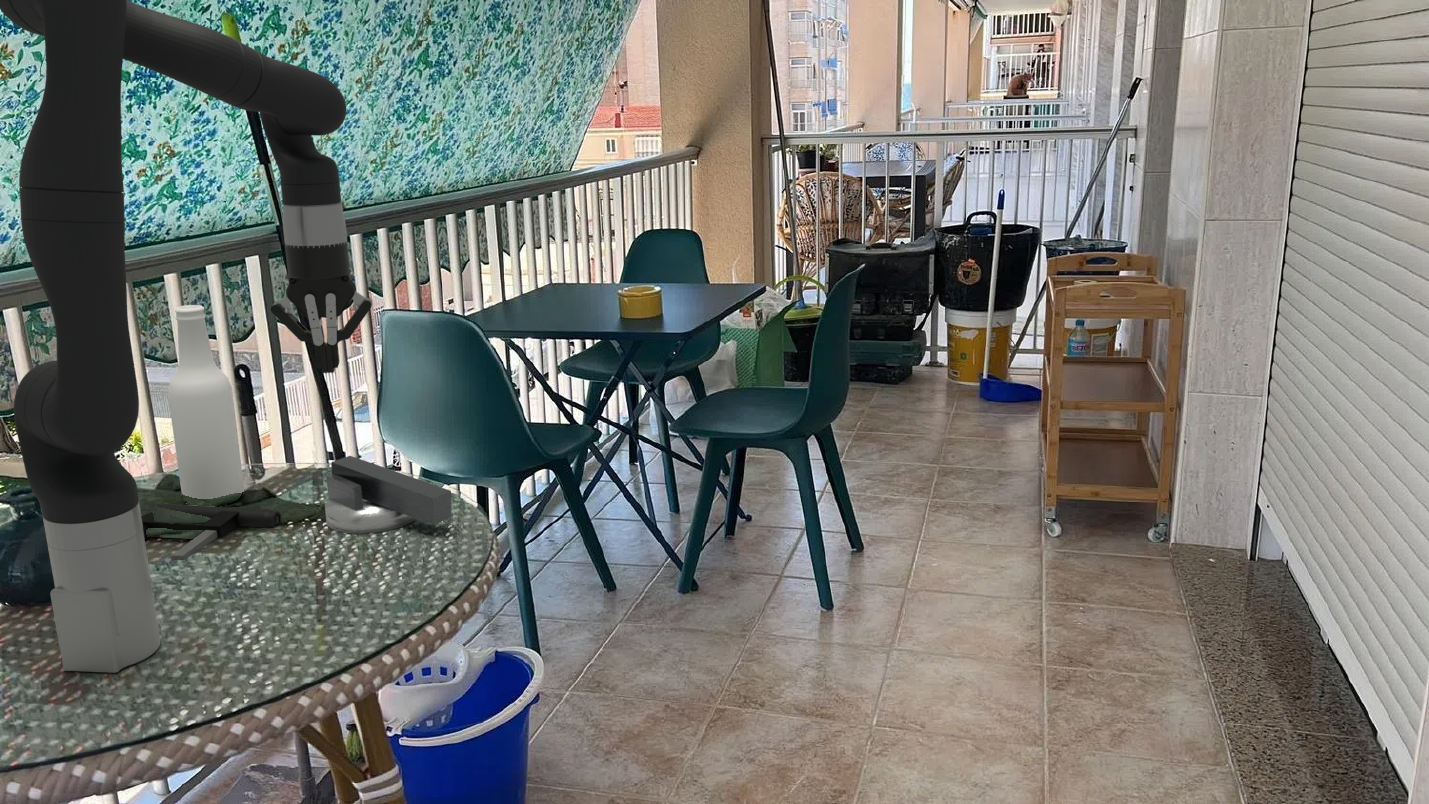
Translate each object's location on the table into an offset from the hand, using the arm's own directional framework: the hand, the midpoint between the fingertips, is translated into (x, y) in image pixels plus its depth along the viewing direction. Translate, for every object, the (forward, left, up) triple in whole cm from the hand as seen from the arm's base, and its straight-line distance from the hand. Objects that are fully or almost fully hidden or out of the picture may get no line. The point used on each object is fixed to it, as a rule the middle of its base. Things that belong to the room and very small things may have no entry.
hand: (329, 371), depth 149 cm
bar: (+9, -3, -22) cm, 23 cm away
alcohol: (+17, +28, -25) cm, 41 cm away
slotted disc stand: (+10, 0, -24) cm, 26 cm away
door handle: (+1, +23, -26) cm, 34 cm away
